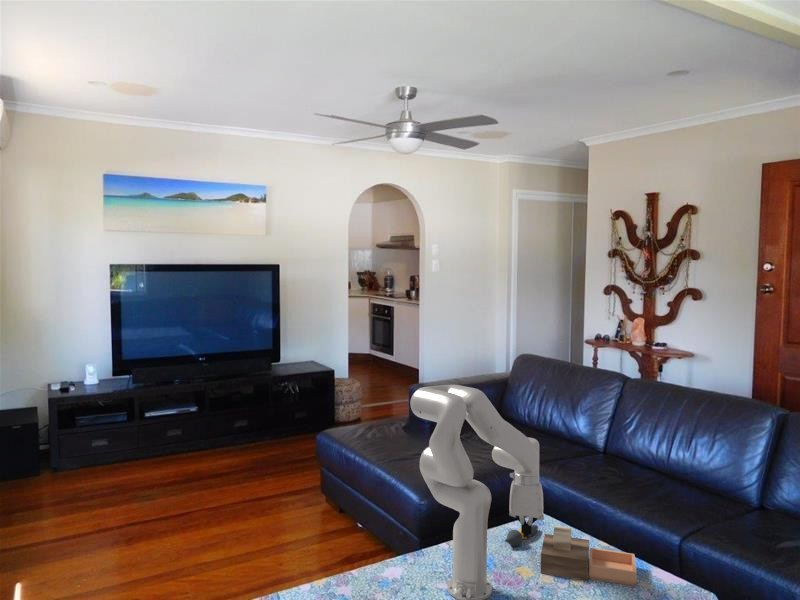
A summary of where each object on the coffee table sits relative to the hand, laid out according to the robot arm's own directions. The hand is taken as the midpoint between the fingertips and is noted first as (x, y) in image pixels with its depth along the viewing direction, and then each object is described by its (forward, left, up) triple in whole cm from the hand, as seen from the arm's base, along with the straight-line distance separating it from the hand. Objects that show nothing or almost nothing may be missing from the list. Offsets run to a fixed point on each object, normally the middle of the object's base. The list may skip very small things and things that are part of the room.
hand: (526, 535), depth 188 cm
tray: (0, -25, -8) cm, 26 cm away
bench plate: (0, -12, -8) cm, 14 cm away
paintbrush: (+14, +3, -8) cm, 16 cm away
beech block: (0, -11, +1) cm, 11 cm away
